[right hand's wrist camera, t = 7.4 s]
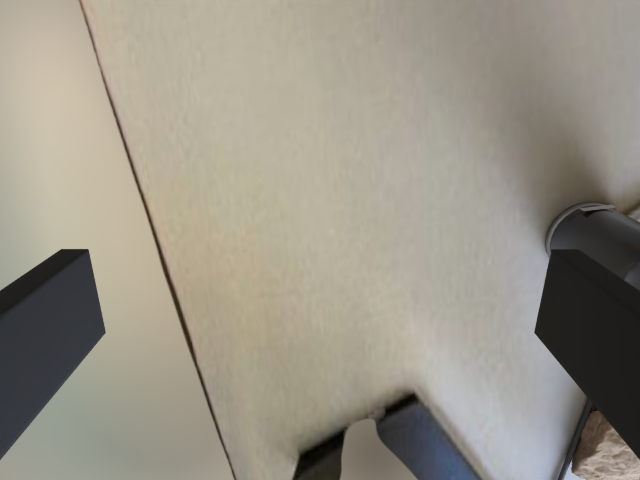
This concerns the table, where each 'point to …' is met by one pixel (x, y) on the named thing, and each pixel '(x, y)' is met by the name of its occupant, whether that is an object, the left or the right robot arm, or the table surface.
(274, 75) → the table surface
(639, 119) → the table surface
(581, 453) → the stone
